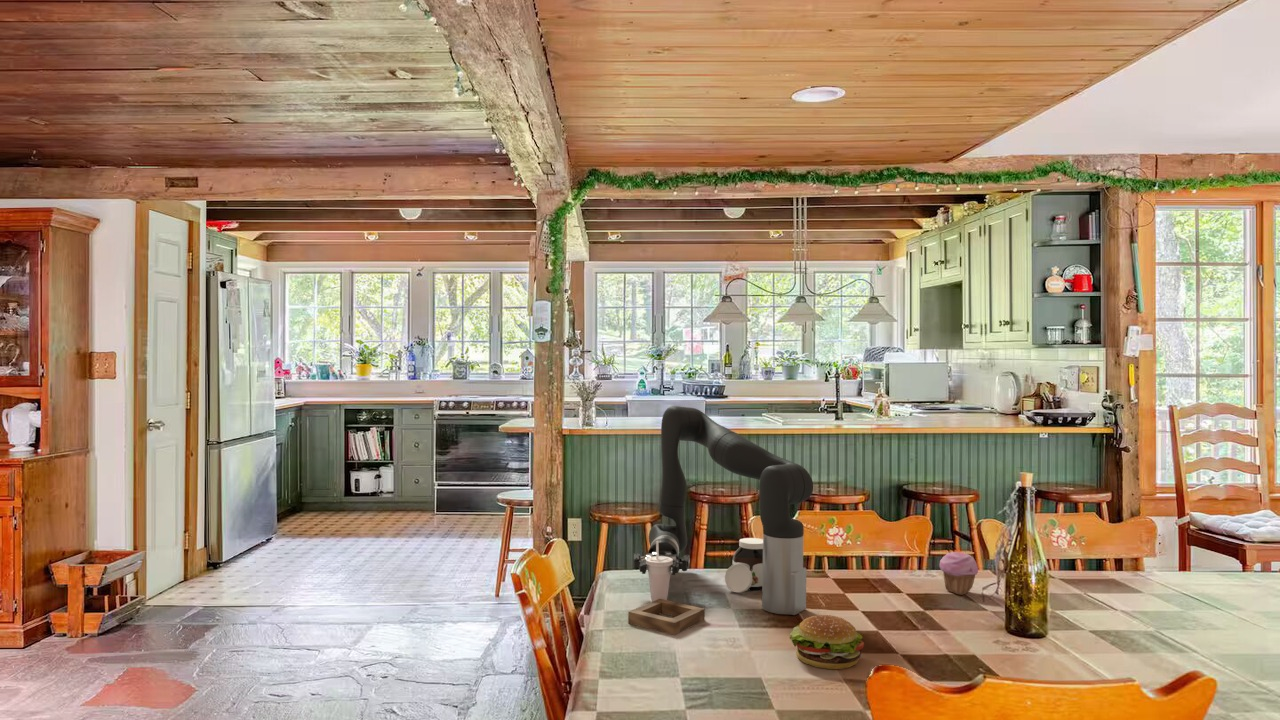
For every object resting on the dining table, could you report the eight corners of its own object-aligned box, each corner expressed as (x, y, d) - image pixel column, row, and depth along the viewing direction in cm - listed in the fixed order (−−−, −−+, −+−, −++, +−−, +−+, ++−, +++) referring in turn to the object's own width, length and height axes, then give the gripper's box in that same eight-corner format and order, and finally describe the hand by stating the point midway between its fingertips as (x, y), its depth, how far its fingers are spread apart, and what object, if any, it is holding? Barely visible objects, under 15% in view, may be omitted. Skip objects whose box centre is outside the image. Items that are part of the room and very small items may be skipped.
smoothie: (641, 598, 190) (641, 539, 190) (665, 595, 193) (665, 536, 193) (652, 605, 184) (653, 545, 184) (677, 602, 187) (678, 542, 187)
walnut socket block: (704, 620, 177) (704, 608, 177) (674, 634, 167) (674, 622, 167) (659, 609, 184) (659, 598, 184) (628, 623, 174) (628, 611, 174)
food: (808, 640, 165) (808, 601, 165) (873, 657, 156) (874, 616, 156) (774, 659, 154) (774, 618, 154) (842, 678, 145) (843, 634, 145)
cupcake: (932, 589, 203) (932, 549, 203) (957, 585, 207) (958, 546, 207) (959, 599, 195) (960, 558, 195) (985, 595, 199) (986, 554, 199)
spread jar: (771, 583, 207) (771, 538, 207) (774, 596, 195) (775, 548, 195) (724, 581, 208) (725, 536, 208) (724, 594, 197) (725, 546, 197)
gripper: (635, 537, 203) (627, 553, 187) (692, 538, 202) (689, 554, 185) (635, 566, 203) (627, 585, 187) (692, 568, 202) (689, 587, 185)
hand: (658, 570), depth 186 cm, fingers closed on smoothie, 6 cm apart
